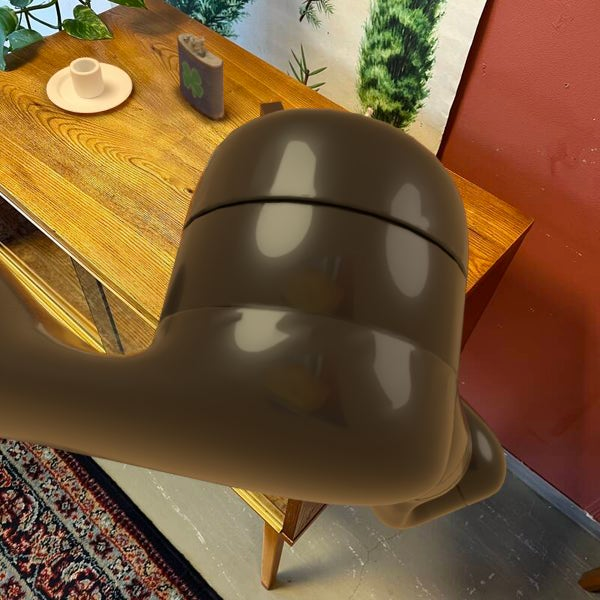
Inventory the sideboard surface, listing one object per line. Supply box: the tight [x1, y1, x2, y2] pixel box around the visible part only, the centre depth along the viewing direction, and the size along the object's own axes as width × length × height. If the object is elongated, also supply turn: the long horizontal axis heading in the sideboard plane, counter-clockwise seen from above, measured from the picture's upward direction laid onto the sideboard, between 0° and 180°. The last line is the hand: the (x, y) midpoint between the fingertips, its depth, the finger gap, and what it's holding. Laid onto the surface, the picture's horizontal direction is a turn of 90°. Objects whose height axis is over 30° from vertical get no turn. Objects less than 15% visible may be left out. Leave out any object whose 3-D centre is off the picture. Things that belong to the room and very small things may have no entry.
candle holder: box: [46, 57, 133, 114], centre depth 95 cm, size 12×12×4 cm
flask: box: [176, 32, 225, 122], centre depth 93 cm, size 9×3×11 cm, turn 40°
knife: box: [259, 100, 285, 117], centre depth 80 cm, size 2×3×15 cm
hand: (300, 168), depth 67 cm, fingers open, 8 cm apart
